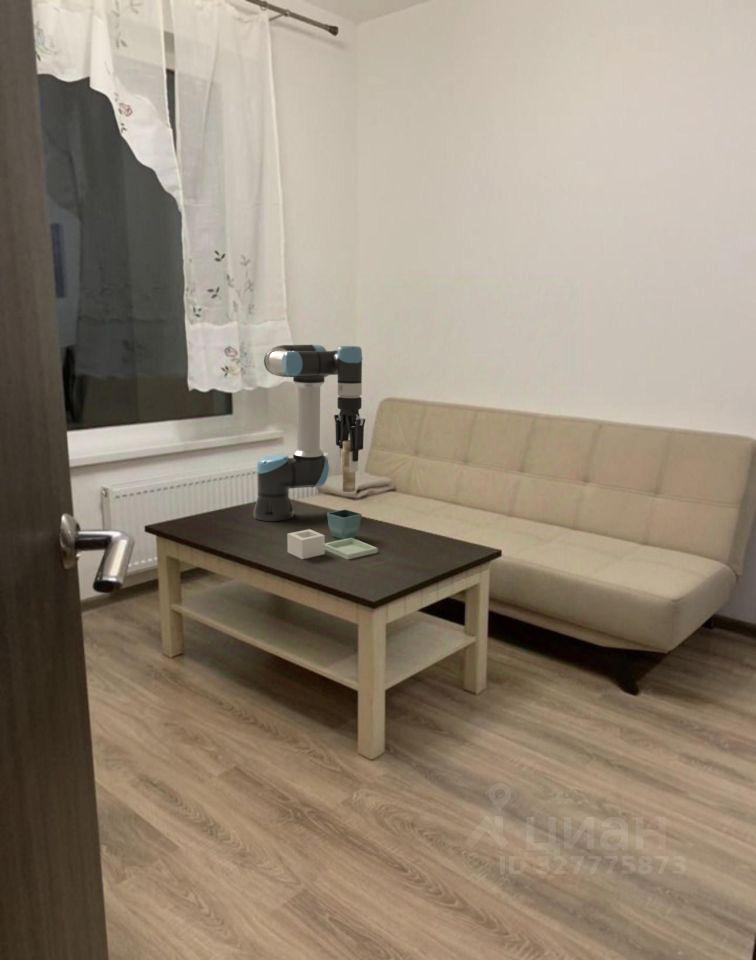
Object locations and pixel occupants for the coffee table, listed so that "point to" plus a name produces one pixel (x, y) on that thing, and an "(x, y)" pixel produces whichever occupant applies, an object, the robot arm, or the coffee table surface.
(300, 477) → the robot arm
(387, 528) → the coffee table surface
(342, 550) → the tray
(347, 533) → the flower pot
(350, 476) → the dowel
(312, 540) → the hollow block
